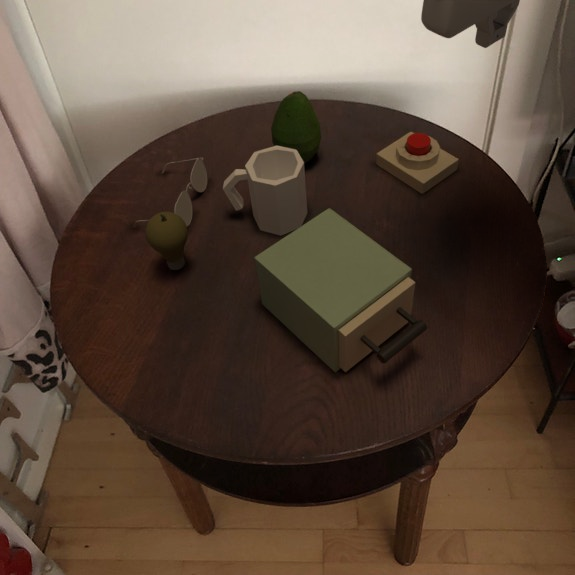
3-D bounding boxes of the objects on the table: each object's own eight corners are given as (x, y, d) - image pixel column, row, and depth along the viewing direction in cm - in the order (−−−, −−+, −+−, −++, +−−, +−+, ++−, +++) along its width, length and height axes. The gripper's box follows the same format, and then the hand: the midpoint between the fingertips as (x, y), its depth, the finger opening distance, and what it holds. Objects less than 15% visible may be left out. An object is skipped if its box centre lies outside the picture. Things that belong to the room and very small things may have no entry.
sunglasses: (184, 236, 94) (172, 212, 90) (135, 236, 96) (122, 213, 93) (211, 175, 102) (201, 151, 98) (166, 177, 105) (154, 153, 101)
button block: (457, 170, 98) (460, 149, 95) (422, 194, 96) (424, 174, 92) (410, 141, 104) (412, 122, 101) (375, 164, 101) (376, 144, 98)
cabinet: (406, 316, 81) (412, 268, 74) (335, 373, 77) (334, 328, 69) (330, 256, 89) (329, 207, 82) (262, 304, 84) (253, 257, 77)
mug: (307, 194, 97) (303, 143, 90) (307, 234, 92) (304, 184, 84) (231, 198, 98) (221, 148, 91) (227, 238, 93) (216, 188, 85)
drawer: (435, 340, 78) (443, 302, 72) (369, 395, 74) (372, 359, 68) (338, 263, 87) (338, 223, 81) (275, 307, 83) (269, 269, 77)
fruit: (323, 143, 105) (321, 80, 96) (320, 174, 100) (317, 111, 91) (277, 143, 106) (270, 80, 97) (271, 174, 101) (264, 111, 92)
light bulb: (205, 264, 90) (191, 215, 82) (175, 288, 87) (159, 239, 80) (179, 246, 92) (164, 196, 85) (150, 268, 90) (132, 219, 82)
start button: (434, 149, 97) (435, 140, 95) (418, 159, 95) (419, 150, 94) (417, 138, 98) (418, 129, 97) (401, 149, 97) (402, 140, 96)
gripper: (469, -52, 52) (448, 92, 63) (610, -124, 59) (570, 16, 70) (412, -72, 55) (401, 68, 66) (553, -138, 63) (523, -2, 73)
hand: (489, 41), depth 68 cm, fingers closed
